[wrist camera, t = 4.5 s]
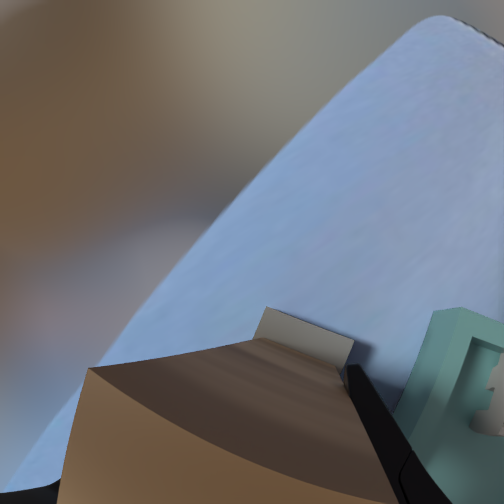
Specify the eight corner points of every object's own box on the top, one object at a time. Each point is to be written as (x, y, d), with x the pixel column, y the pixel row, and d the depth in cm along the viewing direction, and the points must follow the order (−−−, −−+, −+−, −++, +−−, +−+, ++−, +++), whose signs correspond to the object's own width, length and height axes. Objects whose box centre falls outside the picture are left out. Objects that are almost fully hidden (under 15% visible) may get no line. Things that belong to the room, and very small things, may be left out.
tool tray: (489, 544, 9) (506, 566, 6) (323, 528, 13) (322, 563, 9) (579, 367, 11) (610, 369, 8) (433, 311, 14) (461, 306, 11)
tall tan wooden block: (299, 448, 14) (246, 665, 1) (223, 416, 15) (35, 556, 2) (350, 339, 15) (494, 391, 2) (270, 308, 16) (105, 239, 3)
